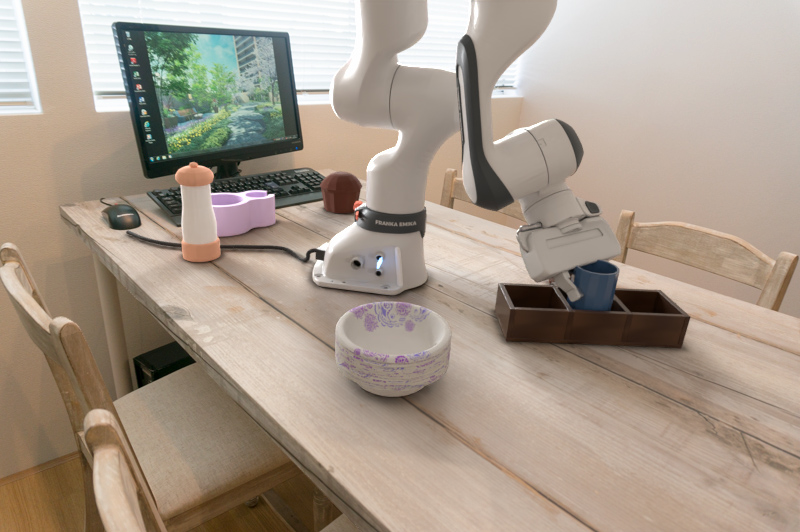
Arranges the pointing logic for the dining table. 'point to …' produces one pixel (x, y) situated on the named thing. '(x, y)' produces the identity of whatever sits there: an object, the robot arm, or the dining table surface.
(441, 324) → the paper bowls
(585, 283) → the cup
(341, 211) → the muffin
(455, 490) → the dining table surface
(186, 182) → the pepper shaker
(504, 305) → the cup rack
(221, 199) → the purple desk organizer
